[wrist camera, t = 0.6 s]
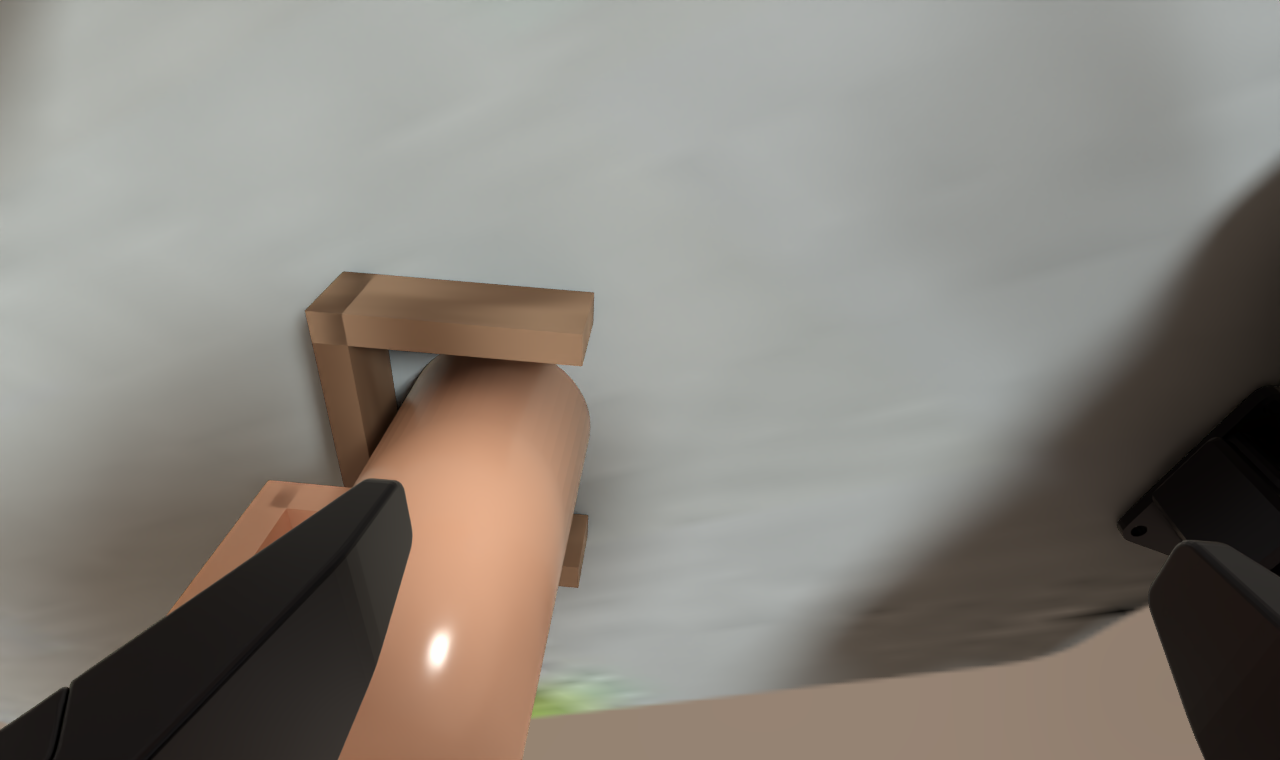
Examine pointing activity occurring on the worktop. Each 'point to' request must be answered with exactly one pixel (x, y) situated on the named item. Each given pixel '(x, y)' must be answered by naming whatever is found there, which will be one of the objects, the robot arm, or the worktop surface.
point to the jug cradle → (433, 351)
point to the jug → (456, 554)
